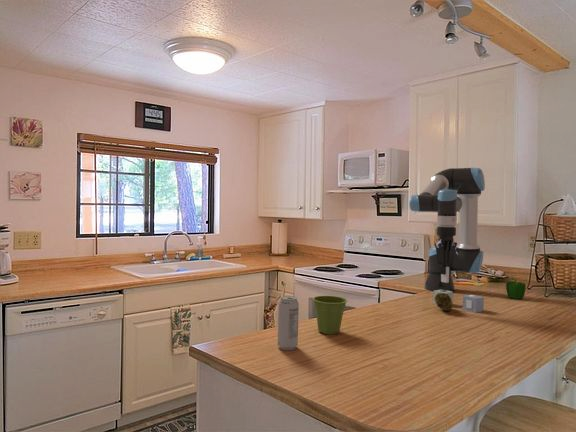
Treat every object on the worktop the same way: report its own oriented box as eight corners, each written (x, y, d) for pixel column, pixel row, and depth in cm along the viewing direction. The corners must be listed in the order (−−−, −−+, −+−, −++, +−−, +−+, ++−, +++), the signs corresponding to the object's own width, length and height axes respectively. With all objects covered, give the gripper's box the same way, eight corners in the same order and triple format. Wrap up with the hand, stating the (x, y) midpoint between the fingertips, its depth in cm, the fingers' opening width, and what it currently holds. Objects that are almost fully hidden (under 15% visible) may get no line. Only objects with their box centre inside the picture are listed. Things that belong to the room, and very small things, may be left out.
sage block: (432, 303, 197) (433, 290, 197) (440, 302, 201) (441, 288, 201) (444, 306, 192) (444, 292, 192) (452, 304, 196) (453, 291, 196)
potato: (459, 310, 186) (460, 291, 186) (447, 315, 176) (447, 295, 176) (440, 306, 191) (441, 288, 191) (427, 311, 182) (428, 292, 182)
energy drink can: (286, 343, 134) (287, 294, 134) (301, 347, 130) (302, 297, 130) (273, 347, 130) (274, 297, 129) (288, 352, 126) (290, 300, 126)
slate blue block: (462, 309, 186) (462, 295, 186) (470, 308, 190) (470, 293, 190) (475, 312, 182) (475, 297, 181) (483, 311, 185) (483, 296, 185)
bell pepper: (528, 300, 209) (529, 279, 209) (511, 300, 210) (511, 279, 209) (519, 297, 218) (520, 277, 218) (503, 296, 218) (503, 276, 218)
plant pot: (318, 337, 141) (319, 303, 140) (307, 328, 152) (308, 296, 152) (352, 335, 144) (353, 302, 144) (338, 326, 155) (339, 295, 155)
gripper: (445, 226, 176) (443, 284, 177) (463, 226, 184) (461, 282, 184) (429, 226, 182) (427, 282, 183) (447, 225, 190) (446, 279, 190)
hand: (444, 282), depth 183 cm, fingers closed
